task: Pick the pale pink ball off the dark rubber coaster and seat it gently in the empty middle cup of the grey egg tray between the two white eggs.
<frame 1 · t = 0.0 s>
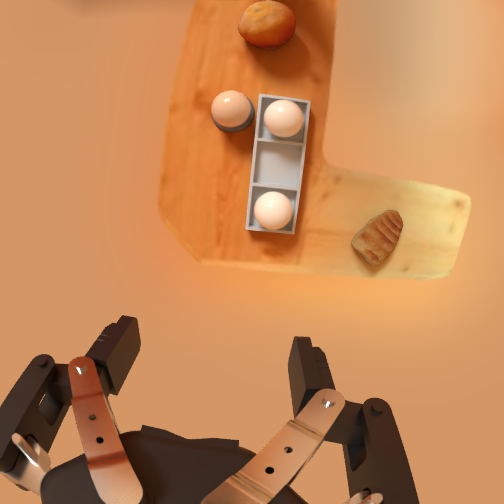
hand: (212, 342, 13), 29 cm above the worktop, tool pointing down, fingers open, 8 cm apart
pastry: (374, 235, 42), on the worktop
fruit: (266, 33, 31), on the worktop
egg 1: (283, 118, 32), point 3 cm above the worktop, touching carton
pale pink ball: (230, 108, 32), point 3 cm above the worktop, touching mat
mat: (232, 112, 35), on the worktop
carton: (276, 163, 38), on the worktop
egg 2: (273, 210, 37), point 3 cm above the worktop, touching carton
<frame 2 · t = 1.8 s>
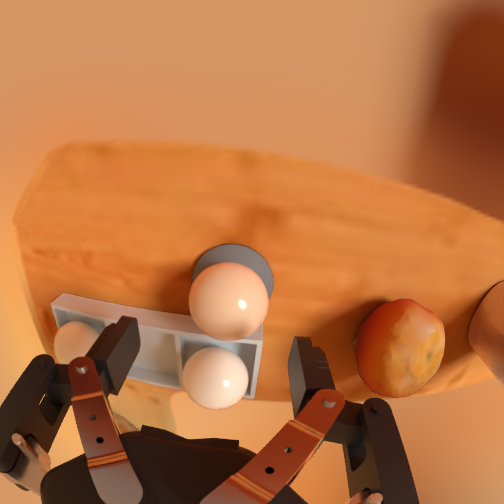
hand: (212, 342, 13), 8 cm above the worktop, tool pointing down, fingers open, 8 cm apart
pastry: (112, 417, 29), on the worktop
fruit: (386, 326, 22), on the worktop
egg 1: (215, 378, 20), point 3 cm above the worktop, touching carton
pale pink ball: (228, 301, 18), point 3 cm above the worktop, touching mat
mat: (232, 281, 20), on the worktop
carton: (152, 341, 23), on the worktop
egg 2: (79, 349, 20), point 3 cm above the worktop, touching carton
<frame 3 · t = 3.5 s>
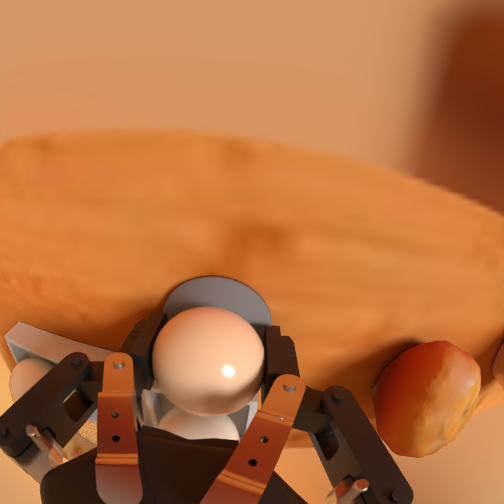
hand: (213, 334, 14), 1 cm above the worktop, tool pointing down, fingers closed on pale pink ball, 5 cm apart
pastry: (91, 445, 23), on the worktop
fruit: (410, 367, 16), on the worktop
egg 1: (197, 440, 14), point 3 cm above the worktop, touching carton
pale pink ball: (208, 362, 12), point 3 cm above the worktop, touching gripper, mat
mat: (216, 325, 14), on the worktop
carton: (121, 385, 17), on the worktop
egg 2: (39, 391, 13), point 3 cm above the worktop, touching carton
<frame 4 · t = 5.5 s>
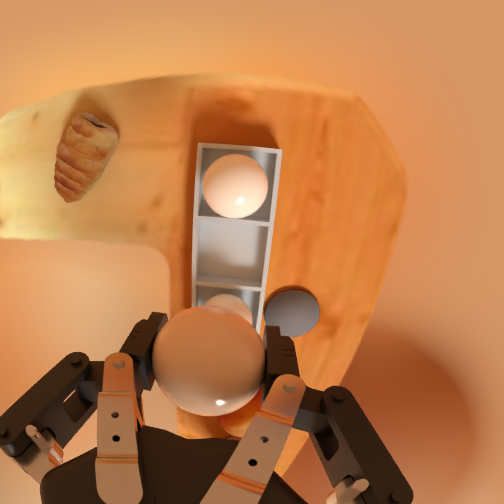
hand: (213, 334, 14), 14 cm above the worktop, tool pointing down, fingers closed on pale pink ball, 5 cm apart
pastry: (91, 153, 24), on the worktop
fruit: (248, 392, 34), on the worktop
egg 1: (225, 320, 26), point 3 cm above the worktop, touching carton
pale pink ball: (208, 361, 12), point 16 cm above the worktop, touching gripper
mat: (292, 313, 29), on the worktop
carton: (232, 246, 27), on the worktop
egg 2: (235, 186, 21), point 3 cm above the worktop, touching carton
when the fingers open (3 cm above the worktop, at t = 7.9 s): pale pink ball drops 1 cm, resting on carton.
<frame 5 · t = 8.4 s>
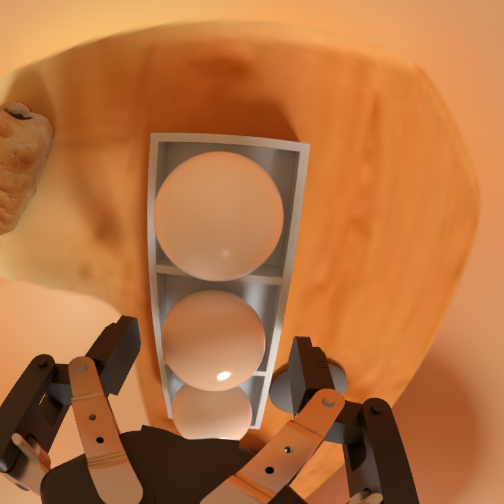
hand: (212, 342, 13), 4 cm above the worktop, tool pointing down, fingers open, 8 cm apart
pastry: (24, 161, 13), on the worktop
egg 1: (211, 412, 15), point 3 cm above the worktop, touching carton
pale pink ball: (213, 340, 13), point 3 cm above the worktop, touching carton
mat: (308, 388, 19), on the worktop
carton: (220, 306, 16), on the worktop
egg 2: (218, 216, 11), point 3 cm above the worktop, touching carton
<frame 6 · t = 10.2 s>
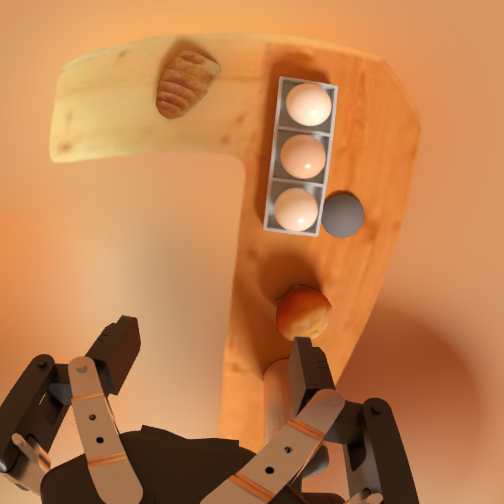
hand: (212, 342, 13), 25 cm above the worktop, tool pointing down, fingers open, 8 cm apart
pastry: (189, 83, 30), on the worktop
fruit: (300, 302, 41), on the worktop
egg 1: (295, 209, 32), point 3 cm above the worktop, touching carton
pale pink ball: (303, 156, 29), point 3 cm above the worktop, touching carton
mat: (342, 215, 35), on the worktop
carton: (298, 155, 33), on the worktop
egg 2: (308, 104, 27), point 3 cm above the worktop, touching carton
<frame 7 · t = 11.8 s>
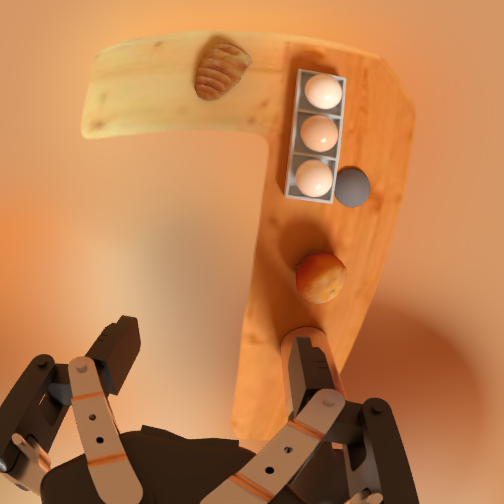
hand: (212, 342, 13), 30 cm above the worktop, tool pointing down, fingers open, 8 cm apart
pastry: (223, 72, 34), on the worktop
fruit: (315, 268, 45), on the worktop
egg 1: (314, 178, 36), point 3 cm above the worktop, touching carton
pale pink ball: (319, 133, 34), point 3 cm above the worktop, touching carton
mat: (351, 187, 40), on the worktop
carton: (314, 135, 37), on the worktop
egg 2: (323, 91, 32), point 3 cm above the worktop, touching carton
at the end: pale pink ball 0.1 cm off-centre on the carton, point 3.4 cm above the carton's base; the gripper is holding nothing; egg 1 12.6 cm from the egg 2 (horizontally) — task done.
